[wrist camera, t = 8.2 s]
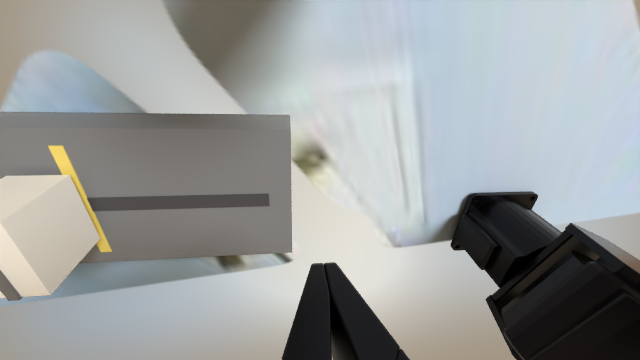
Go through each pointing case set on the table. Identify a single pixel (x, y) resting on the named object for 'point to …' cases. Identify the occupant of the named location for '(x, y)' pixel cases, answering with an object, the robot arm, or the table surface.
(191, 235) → the fader console
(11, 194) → the fader tab
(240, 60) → the table surface
